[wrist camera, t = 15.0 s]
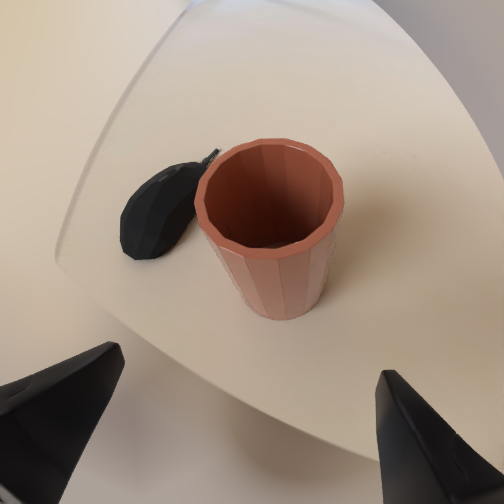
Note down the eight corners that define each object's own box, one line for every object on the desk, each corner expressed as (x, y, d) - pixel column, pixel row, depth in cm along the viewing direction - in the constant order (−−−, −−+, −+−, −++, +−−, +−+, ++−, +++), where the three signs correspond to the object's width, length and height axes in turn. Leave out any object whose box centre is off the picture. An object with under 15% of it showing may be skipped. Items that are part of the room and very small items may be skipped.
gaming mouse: (241, 158, 31) (234, 131, 27) (156, 275, 26) (135, 257, 23) (196, 144, 33) (186, 119, 29) (114, 246, 28) (93, 228, 25)
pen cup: (301, 335, 22) (307, 285, 11) (224, 297, 24) (167, 223, 14) (337, 259, 24) (361, 162, 14) (263, 228, 27) (240, 126, 16)
